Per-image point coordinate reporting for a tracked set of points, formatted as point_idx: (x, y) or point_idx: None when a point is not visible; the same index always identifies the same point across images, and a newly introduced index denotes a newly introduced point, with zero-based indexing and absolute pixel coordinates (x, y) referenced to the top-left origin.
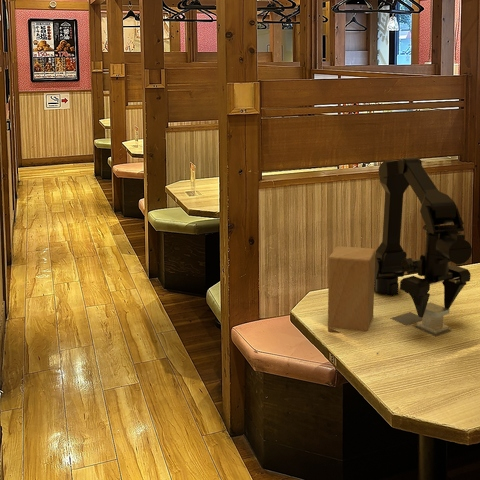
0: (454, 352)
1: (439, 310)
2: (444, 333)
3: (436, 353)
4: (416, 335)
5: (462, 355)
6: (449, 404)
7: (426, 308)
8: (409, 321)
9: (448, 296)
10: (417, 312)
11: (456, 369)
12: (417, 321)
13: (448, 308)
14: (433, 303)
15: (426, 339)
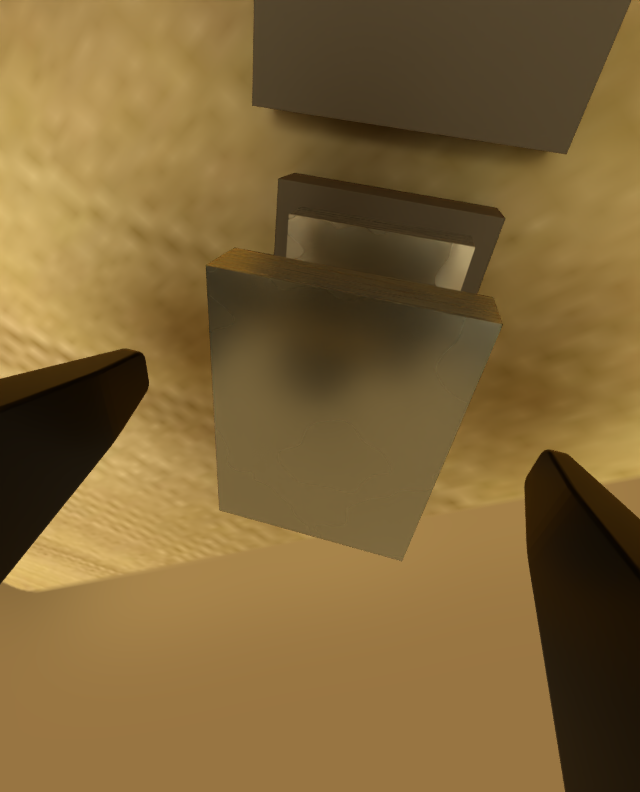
0: None
1: (300, 508)
2: None
3: (184, 432)
4: (270, 234)
5: None
6: None
7: (238, 393)
8: (361, 42)
9: (594, 638)
10: (83, 364)
11: (155, 521)
12: (423, 119)
13: (528, 495)
14: (475, 382)
15: None
